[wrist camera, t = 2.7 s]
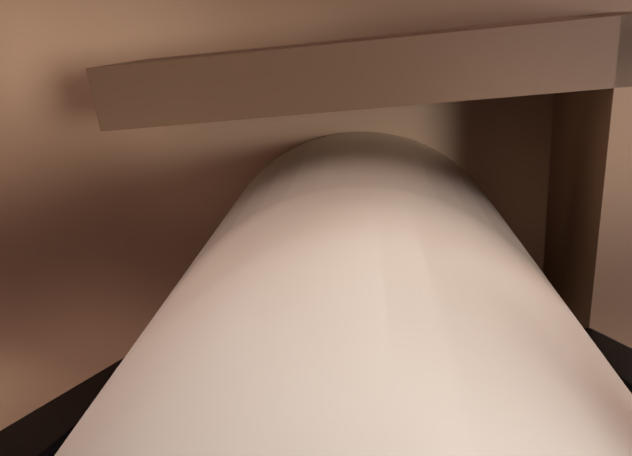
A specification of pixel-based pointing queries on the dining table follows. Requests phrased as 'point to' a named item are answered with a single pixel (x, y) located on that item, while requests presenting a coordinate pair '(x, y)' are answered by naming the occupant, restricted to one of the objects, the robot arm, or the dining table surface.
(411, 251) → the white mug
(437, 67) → the dock
